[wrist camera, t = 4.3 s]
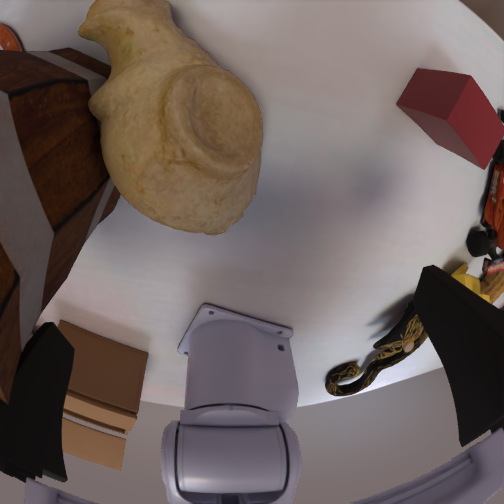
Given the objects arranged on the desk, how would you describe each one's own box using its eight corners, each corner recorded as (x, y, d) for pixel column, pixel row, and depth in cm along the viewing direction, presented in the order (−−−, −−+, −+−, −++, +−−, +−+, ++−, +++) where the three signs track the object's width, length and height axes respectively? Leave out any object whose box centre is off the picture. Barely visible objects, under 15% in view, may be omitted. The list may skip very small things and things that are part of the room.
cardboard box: (134, 388, 33) (126, 440, 27) (64, 363, 30) (48, 412, 23) (148, 353, 28) (137, 419, 21) (60, 319, 25) (35, 380, 18)
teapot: (472, 251, 20) (493, 260, 21) (430, 261, 25) (455, 268, 26) (470, 339, 18) (491, 337, 19) (426, 337, 23) (452, 336, 25)
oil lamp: (119, -51, 5) (83, 8, 9) (70, 255, 6) (56, 254, 10) (271, 10, 13) (220, 43, 16) (301, 227, 14) (234, 232, 17)
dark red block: (417, 67, 13) (471, 75, 9) (456, 110, 15) (506, 130, 10) (395, 104, 15) (446, 120, 10) (436, 144, 17) (484, 170, 12)
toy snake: (345, 416, 32) (298, 401, 28) (338, 390, 36) (293, 370, 32) (457, 341, 25) (436, 306, 22) (441, 317, 29) (415, 278, 26)
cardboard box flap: (126, 439, 26) (126, 438, 27) (49, 412, 23) (49, 411, 23) (121, 470, 24) (121, 469, 25) (45, 444, 21) (46, 443, 21)
